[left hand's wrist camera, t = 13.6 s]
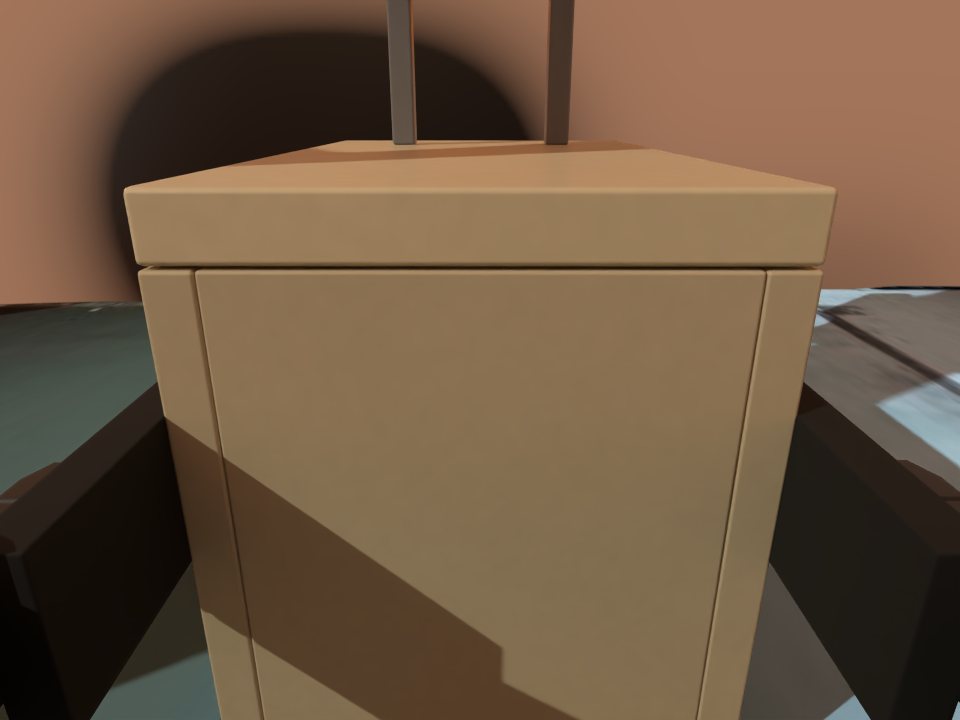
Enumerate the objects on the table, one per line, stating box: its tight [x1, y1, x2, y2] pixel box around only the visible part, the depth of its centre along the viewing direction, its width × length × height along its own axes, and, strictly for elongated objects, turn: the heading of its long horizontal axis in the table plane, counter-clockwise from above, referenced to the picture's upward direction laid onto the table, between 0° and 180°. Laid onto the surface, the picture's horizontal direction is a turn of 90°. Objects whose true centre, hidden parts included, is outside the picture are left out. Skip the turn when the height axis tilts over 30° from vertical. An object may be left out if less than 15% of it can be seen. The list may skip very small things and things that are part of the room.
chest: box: [138, 266, 823, 720], centre depth 18 cm, size 15×10×11 cm, turn 0°
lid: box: [124, 0, 838, 267], centre depth 15 cm, size 16×10×8 cm, turn 0°
